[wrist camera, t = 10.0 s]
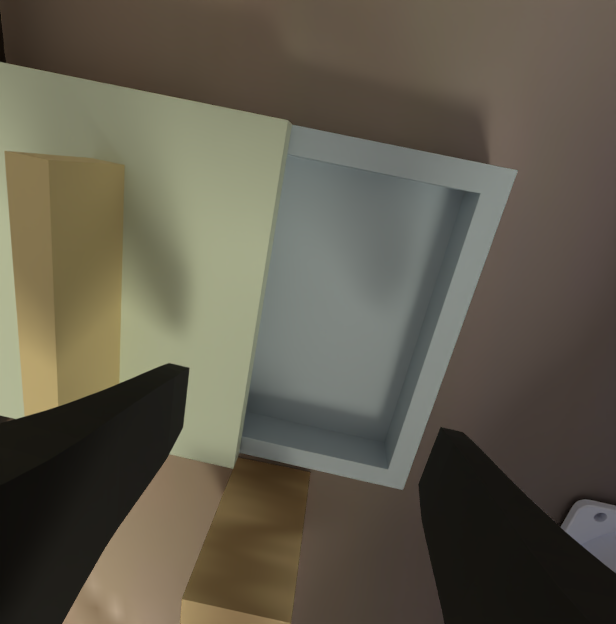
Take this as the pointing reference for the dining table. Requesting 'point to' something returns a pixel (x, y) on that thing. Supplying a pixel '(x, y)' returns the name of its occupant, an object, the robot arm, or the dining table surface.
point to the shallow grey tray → (365, 301)
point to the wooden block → (250, 549)
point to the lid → (133, 247)
